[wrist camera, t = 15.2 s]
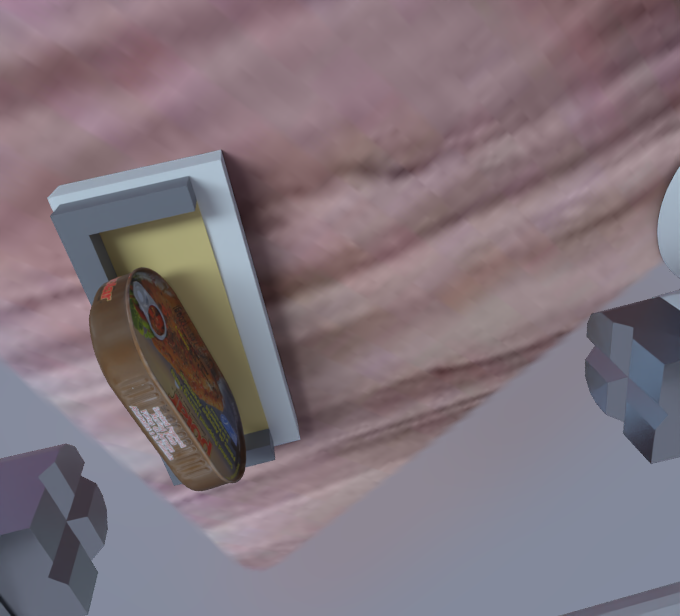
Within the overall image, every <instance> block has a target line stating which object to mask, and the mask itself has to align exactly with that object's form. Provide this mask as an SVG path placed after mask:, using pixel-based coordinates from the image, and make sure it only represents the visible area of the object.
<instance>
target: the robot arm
mask: <svg viewBox="0 0 680 616" xmlns="http://www.w3.org/2000/svg"><path fill="white" fill-rule="evenodd" d="M657 235H658V245H659V249H660V253H661V256H662V258H663V260H664V262H665V264H666V265H667V267H668V268H669V270H670V271H671V272H672V273H673V274H674V275H676V276H677V277H678V278H680V167H679V169H678V170H677V172H676V173H675V175H674V177H673V179H672V181H671V183H670V185H669V187H668V189H667V191H666V194H665V196H664V199H663V202H662V205H661V209H660V214H659V219H658V229H657ZM587 337H588V338H589V340H590V341H591V342H592V343H593V344H594V345H595V347H594V348H593V349H592V351H591V352H590V354H589V355H588V357H587V358H586V360H585V377H586V381H587V384H588V387H589V391H590V393H591V395H592V397H593V399H594V400H595V402H596V403H597V405H598V406H599V407H600V409H601V410H602V411H603V412H604V413H605V414H606V415H608V416H610V417H613V418H616V419H618V420H621V421H623V422H624V430H623V433H624V435H625V436H626V437H627V438H628V440H630V442H631V443H632V444H633V445H634V446H635V447H636V448H637V449H638V450H639V451H640V453H641V454H643V456H644V457H645V458H646V459H647V460H648V461H649V462H650V463H651V464H653V463H657V462H661V461H665V460H669V459H674V458H678V457H680V290H676V291H673V292H669V293H666V294H662V295H658V296H655V297H652V298H651V299H647V300H644V301H640V302H636V303H632V304H628V305H624V306H620V307H616V308H612V309H608V310H604V311H600V312H597V313H593V314H591V316H590V318H589V321H588V323H587ZM84 463H85V462H84V461H83V459H82V457H81V456H80V454H79V452H78V451H77V449H76V447H75V446H72V445H69V444H62V445H58V446H54V447H49V448H45V449H41V450H36V451H32V452H27V453H23V454H18V455H14V456H10V457H5V458H1V459H0V616H85V615H88V612H89V608H90V604H91V600H92V595H93V591H94V587H95V583H96V578H97V574H98V571H97V570H96V568H95V566H94V565H93V563H92V561H91V560H92V559H93V558H94V557H95V556H96V555H97V553H98V552H99V551H100V550H101V549H102V548H103V546H104V544H105V539H106V534H107V530H108V526H107V509H106V505H105V502H104V499H103V495H102V493H101V491H100V489H99V488H98V486H97V484H96V483H94V482H92V481H90V480H88V479H86V478H84V477H82V476H81V473H82V470H83V466H84ZM560 616H680V582H676V583H673V584H669V585H666V586H662V587H659V588H655V589H652V590H648V591H645V592H641V593H638V594H634V595H631V596H627V597H624V598H620V599H617V600H613V601H610V602H606V603H603V604H599V605H595V606H592V607H588V608H585V609H582V610H578V611H574V612H571V613H567V614H564V615H560Z"/></svg>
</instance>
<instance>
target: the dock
mask: <svg viewBox="0 0 680 616" xmlns="http://www.w3.org/2000/svg"><path fill="white" fill-rule="evenodd" d="M47 199H48V201H49V203H50V205H51V208H52V210H53V213H52V215H51V216H50V217H51V219H52V221H53V223H54V226H55V228H56V230H57V232H58V234H59V236H60V239H61V241H62V243H63V245H64V247H65V249H66V252H67V254H68V256H69V258H70V260H71V262H72V265H73V267H74V269H75V271H76V273H77V276H78V278H79V280H80V282H81V284H82V286H83V289H84V291H85V293H86V295H87V297H88V299H89V302H90V304H91V306H92V304H93V300H94V297H95V295H96V293H97V291H98V289H99V288H100V287H101V286H102V285H103V284H104V283H106V282H108V281H110V280H112V279H115V278H117V277H120V276H123V275H126V274H128V273H131V272H132V271H134V270H135V269H137V268H140V267H146V268H150V269H152V270H154V271H155V272H157V273H158V274H159V275H160V276H161V277H162V278H164V280H165V281H166V282H167V283H168V284H169V285H170V286H171V288H172V289H173V291H174V292H175V294H176V295H177V297H178V298H179V300H180V302H181V303H182V305H183V307H184V309H185V310H186V312H187V314H188V316H189V317H190V319H191V321H192V322H193V324H194V326H195V328H196V329H197V331H198V333H199V335H200V336H201V338H202V340H203V342H204V343H205V345H206V347H207V348H208V350H209V352H210V353H211V355H212V357H213V359H214V360H215V362H216V364H217V365H218V367H219V369H220V371H221V372H222V374H223V376H224V378H225V379H226V381H227V383H228V385H229V387H230V389H231V391H232V394H233V396H234V398H235V401H236V404H237V407H238V410H239V413H240V417H241V422H242V426H243V431H244V437H245V444H246V466H245V467H249V466H253V465H257V464H260V463H264V462H268V461H272V460H275V453H274V446H277V445H281V444H285V443H289V442H293V441H297V440H300V435H299V428H298V422H297V417H296V414H295V410H294V407H293V403H292V399H291V396H290V392H289V389H288V385H287V382H286V378H285V375H284V371H283V368H282V364H281V360H280V357H279V353H278V350H277V346H276V343H275V339H274V336H273V332H272V328H271V325H270V321H269V318H268V314H267V311H266V307H265V304H264V300H263V297H262V293H261V289H260V286H259V282H258V279H257V275H256V272H255V268H254V265H253V261H252V258H251V254H250V250H249V247H248V243H247V240H246V236H245V233H244V229H243V226H242V222H241V219H240V215H239V211H238V208H237V204H236V201H235V197H234V194H233V190H232V187H231V183H230V179H229V176H228V172H227V169H226V165H225V162H224V158H223V155H222V151H221V150H218V151H214V152H209V153H205V154H200V155H196V156H191V157H187V158H182V159H178V160H173V161H168V162H164V163H159V164H155V165H150V166H146V167H141V168H137V169H132V170H128V171H123V172H119V173H114V174H110V175H105V176H101V177H96V178H92V179H87V180H83V181H78V182H74V183H69V184H65V185H60V186H58V187H57V188H56V189H55V190H54V192H53V193H52V194H51V195H50V196H49V197H48V198H47ZM161 458H162V457H161ZM162 460H163V458H162ZM163 462H164V465H165V467H166V469H167V471H168V473H169V475H170V478H171V480H172V482H173V484H174V486H175V485H179V484H182V483H181V482H180V481H179V480H178V478H177V477H176V476H175V475H174V473H173V472H172V471H171V469H170V468H169V466H168V465H167V464H166V462H165V461H164V460H163Z"/></svg>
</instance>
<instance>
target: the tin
mask: <svg viewBox="0 0 680 616" xmlns="http://www.w3.org/2000/svg"><path fill="white" fill-rule="evenodd" d="M89 326H90V334H91V340H92V344H93V348H94V352H95V355H96V358H97V361H98V363H99V365H100V368H101V370H102V372H103V374H104V376H105V378H106V380H107V382H108V384H109V385H110V387H111V388H112V390H113V391H114V393H115V394H116V395H117V397H118V398H119V400H120V401H121V402H122V404H123V405H124V407H125V408H126V409H127V411H128V412H129V413H130V415H131V416H132V418H133V419H134V420H135V422H136V423H137V424H138V426H139V427H140V428H141V430H142V431H143V433H144V434H145V435H146V437H147V438H148V440H149V441H150V442H151V443H152V445H153V446H154V448H155V449H156V450H157V452H158V453H159V454H160V456H161V457H162V458H163V460H164V461H165V462H166V464H167V465H168V466H169V468H170V469H171V471H172V472H173V473H174V475H175V476H176V477H177V478H178V480H179V481H180V482H181V483H182V484H184V485H185V486H186V487H188V488H190V489H191V490H194V491H204V490H209V489H212V488H215V487H218V486H221V485H224V484H227V483H236V482H238V481H239V480H240V479H241V478H242V477H243V474H244V471H245V466H246V444H245V437H244V431H243V426H242V422H241V417H240V413H239V410H238V407H237V404H236V401H235V398H234V396H233V394H232V391H231V389H230V387H229V385H228V383H227V381H226V379H225V378H224V376H223V374H222V372H221V371H220V369H219V367H218V365H217V364H216V362H215V360H214V359H213V357H212V355H211V353H210V352H209V350H208V348H207V347H206V345H205V343H204V342H203V340H202V338H201V336H200V335H199V333H198V331H197V329H196V328H195V326H194V324H193V322H192V321H191V319H190V317H189V316H188V314H187V312H186V310H185V309H184V307H183V305H182V303H181V302H180V300H179V298H178V297H177V295H176V294H175V292H174V291H173V289H172V288H171V286H170V285H169V284H168V283H167V282H166V281H165V280H164V278H162V277H161V276H160V275H159V274H158V273H157V272H155V271H154V270H152V269H150V268H146V267H140V268H137V269H135V270H134V271H132V272H131V273H128V274H126V275H123V276H120V277H117V278H115V279H112V280H110V281H108V282H106V283H104V284H103V285H102V286H101V287H100V288H99V289H98V291H97V293H96V295H95V297H94V300H93V304H92V307H91V310H90V315H89Z"/></svg>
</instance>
